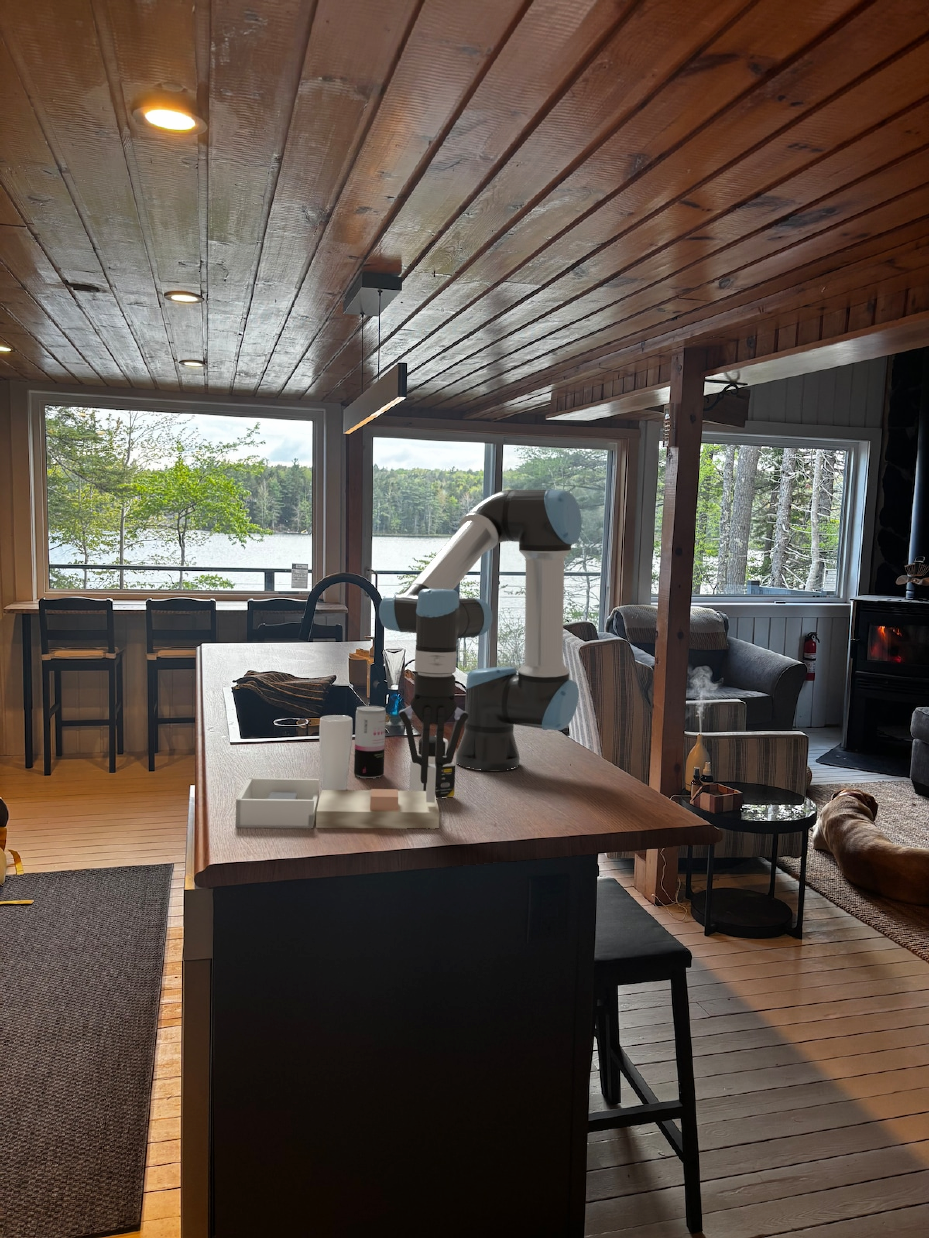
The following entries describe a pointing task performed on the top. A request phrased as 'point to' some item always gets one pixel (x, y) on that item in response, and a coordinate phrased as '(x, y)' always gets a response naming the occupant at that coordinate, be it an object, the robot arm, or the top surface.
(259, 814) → the tray
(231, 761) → the top surface
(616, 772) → the top surface
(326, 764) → the white cylinder
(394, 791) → the terracotta tile
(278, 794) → the slate tile
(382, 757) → the beverage can
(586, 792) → the top surface
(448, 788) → the medicine bottle
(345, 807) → the board
